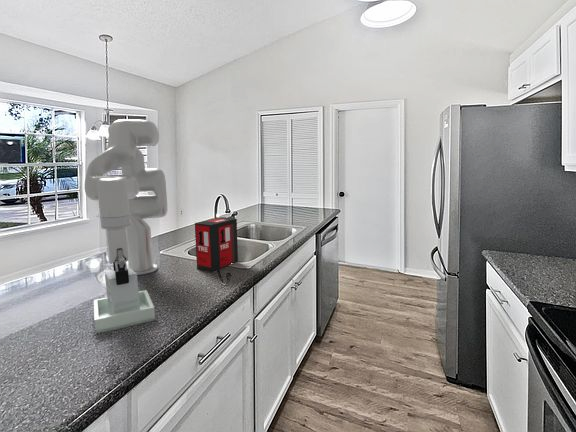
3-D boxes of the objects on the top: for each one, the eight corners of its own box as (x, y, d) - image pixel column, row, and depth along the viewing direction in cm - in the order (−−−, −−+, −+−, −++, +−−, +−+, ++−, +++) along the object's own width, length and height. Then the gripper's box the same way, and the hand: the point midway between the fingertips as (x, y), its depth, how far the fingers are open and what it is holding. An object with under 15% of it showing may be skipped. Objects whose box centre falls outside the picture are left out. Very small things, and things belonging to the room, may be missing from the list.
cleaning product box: (212, 272, 137) (210, 225, 134) (197, 269, 142) (194, 223, 138) (237, 262, 152) (236, 218, 148) (222, 259, 156) (221, 217, 153)
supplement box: (134, 305, 105) (131, 266, 103) (140, 314, 99) (137, 273, 97) (108, 312, 100) (104, 271, 98) (113, 321, 95) (109, 278, 92)
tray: (95, 312, 102) (93, 299, 101) (147, 301, 110) (146, 290, 109) (95, 333, 89) (94, 320, 89) (155, 320, 97) (154, 307, 96)
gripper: (99, 217, 100) (105, 271, 104) (101, 229, 86) (108, 291, 89) (127, 214, 104) (131, 267, 107) (133, 226, 89) (139, 286, 93)
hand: (121, 278), depth 98 cm, fingers open, 9 cm apart
